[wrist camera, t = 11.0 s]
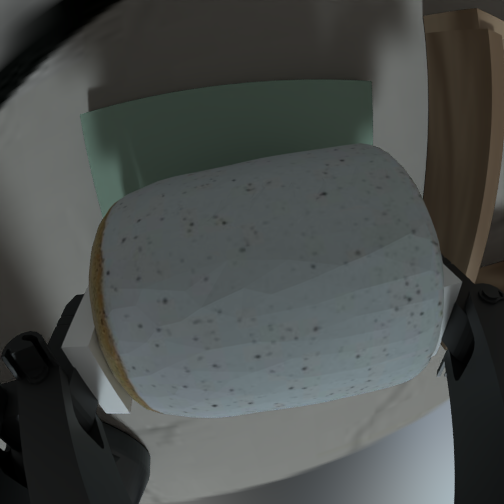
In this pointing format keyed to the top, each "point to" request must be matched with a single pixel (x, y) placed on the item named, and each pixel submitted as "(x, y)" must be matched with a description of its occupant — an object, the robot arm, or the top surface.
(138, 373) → the ceramic mug
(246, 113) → the rubber mat
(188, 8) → the top surface
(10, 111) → the top surface
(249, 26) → the top surface
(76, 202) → the top surface
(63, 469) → the robot arm
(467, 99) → the open wooden box frame
